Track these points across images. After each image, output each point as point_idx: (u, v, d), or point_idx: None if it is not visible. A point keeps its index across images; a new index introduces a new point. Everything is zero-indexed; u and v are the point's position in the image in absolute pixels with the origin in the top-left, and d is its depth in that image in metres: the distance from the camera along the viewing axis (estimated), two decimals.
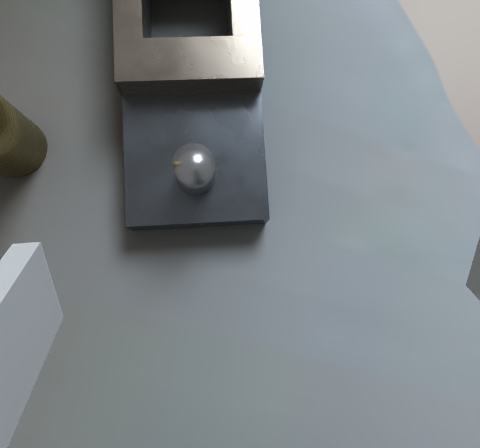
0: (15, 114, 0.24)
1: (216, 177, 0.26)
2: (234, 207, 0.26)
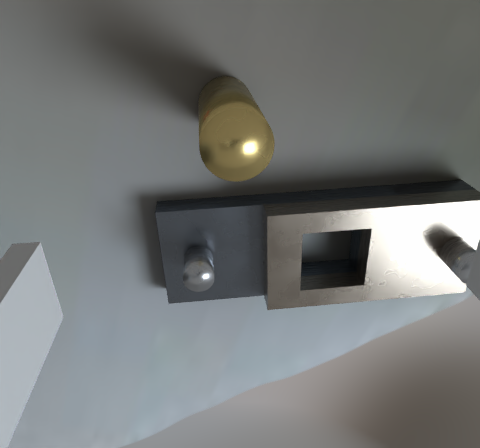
0: None
1: None
2: (175, 282, 0.36)
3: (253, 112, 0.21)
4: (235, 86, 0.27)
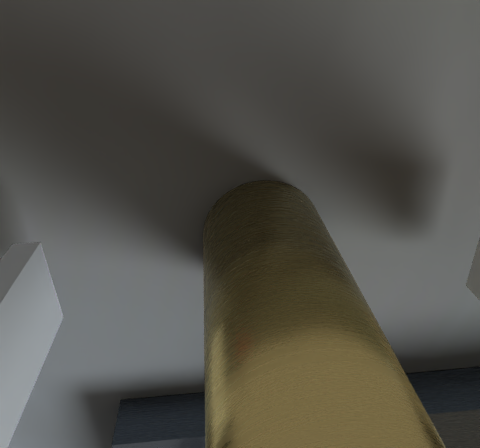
0: None
1: None
2: None
3: None
4: (302, 240, 0.10)
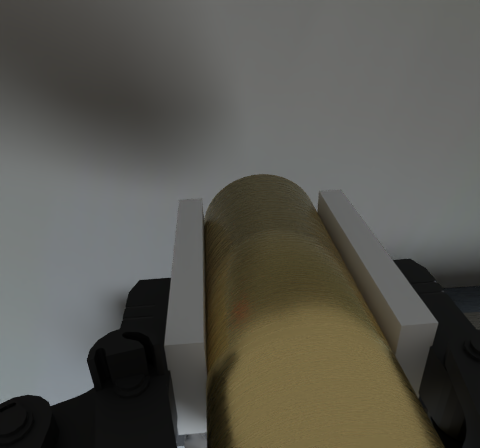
0: None
1: None
2: None
3: None
4: (297, 229, 0.11)
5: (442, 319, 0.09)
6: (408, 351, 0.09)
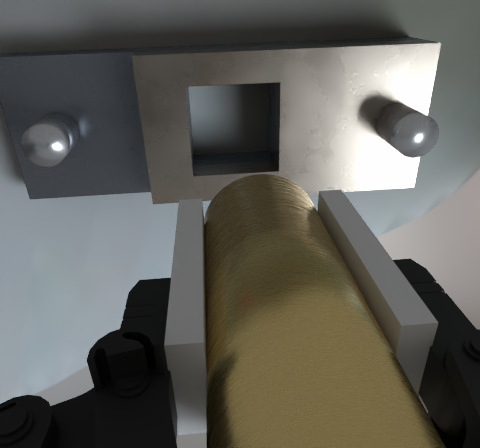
0: None
1: None
2: (34, 168, 0.27)
3: None
4: (297, 229, 0.11)
5: (442, 319, 0.09)
6: (408, 351, 0.09)
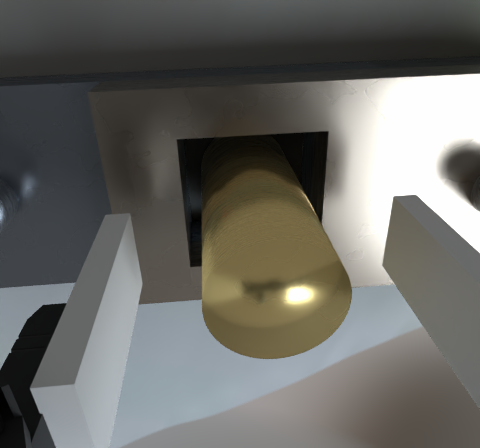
0: None
1: None
2: None
3: (314, 245, 0.10)
4: (264, 154, 0.16)
5: None
6: None
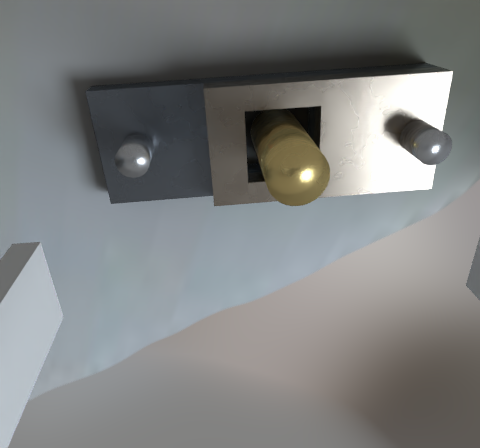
0: None
1: None
2: (116, 178, 0.33)
3: (313, 148, 0.25)
4: (288, 118, 0.30)
5: None
6: None
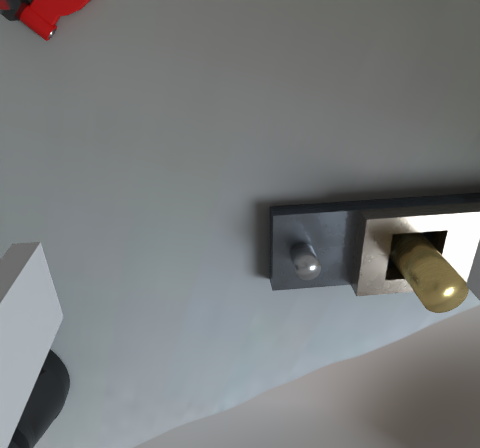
0: None
1: None
2: (280, 273, 0.43)
3: (459, 277, 0.35)
4: (421, 237, 0.41)
5: None
6: None
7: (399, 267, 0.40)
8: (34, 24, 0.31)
